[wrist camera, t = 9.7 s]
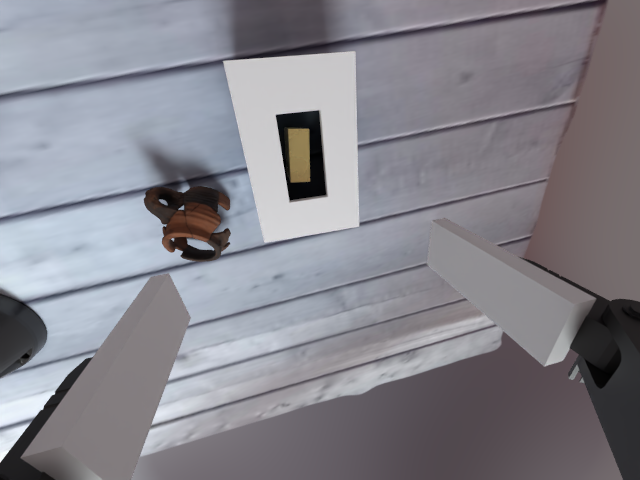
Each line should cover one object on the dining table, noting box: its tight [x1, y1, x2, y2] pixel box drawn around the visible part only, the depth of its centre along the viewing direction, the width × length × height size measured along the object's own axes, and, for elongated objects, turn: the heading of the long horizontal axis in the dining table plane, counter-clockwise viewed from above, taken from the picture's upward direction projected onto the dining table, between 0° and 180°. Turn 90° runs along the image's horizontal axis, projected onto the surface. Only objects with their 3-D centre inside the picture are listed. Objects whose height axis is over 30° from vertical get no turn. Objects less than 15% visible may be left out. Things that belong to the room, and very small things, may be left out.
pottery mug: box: [144, 186, 231, 262], centre depth 34 cm, size 12×10×8 cm
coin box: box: [223, 51, 359, 243], centre depth 30 cm, size 12×18×10 cm, turn 6°
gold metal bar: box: [284, 127, 310, 182], centre depth 32 cm, size 2×6×7 cm, turn 0°
